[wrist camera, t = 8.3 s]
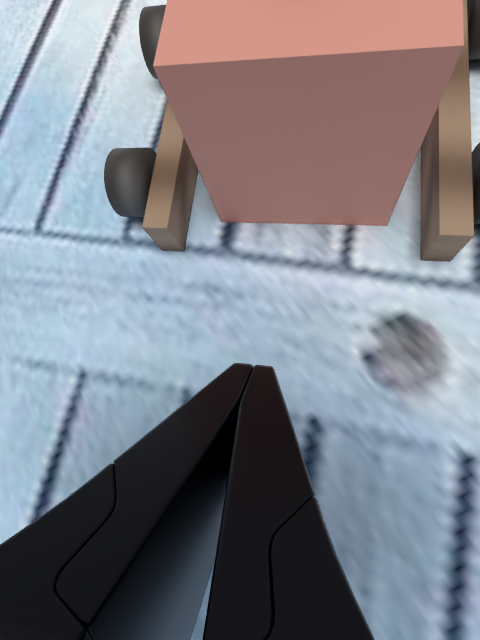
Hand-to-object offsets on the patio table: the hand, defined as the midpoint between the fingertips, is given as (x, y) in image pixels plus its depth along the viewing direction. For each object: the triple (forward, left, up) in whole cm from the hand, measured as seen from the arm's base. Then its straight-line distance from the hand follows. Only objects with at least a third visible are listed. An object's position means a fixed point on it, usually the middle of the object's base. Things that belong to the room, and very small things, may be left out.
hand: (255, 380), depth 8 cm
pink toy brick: (+4, +18, -13) cm, 22 cm away
